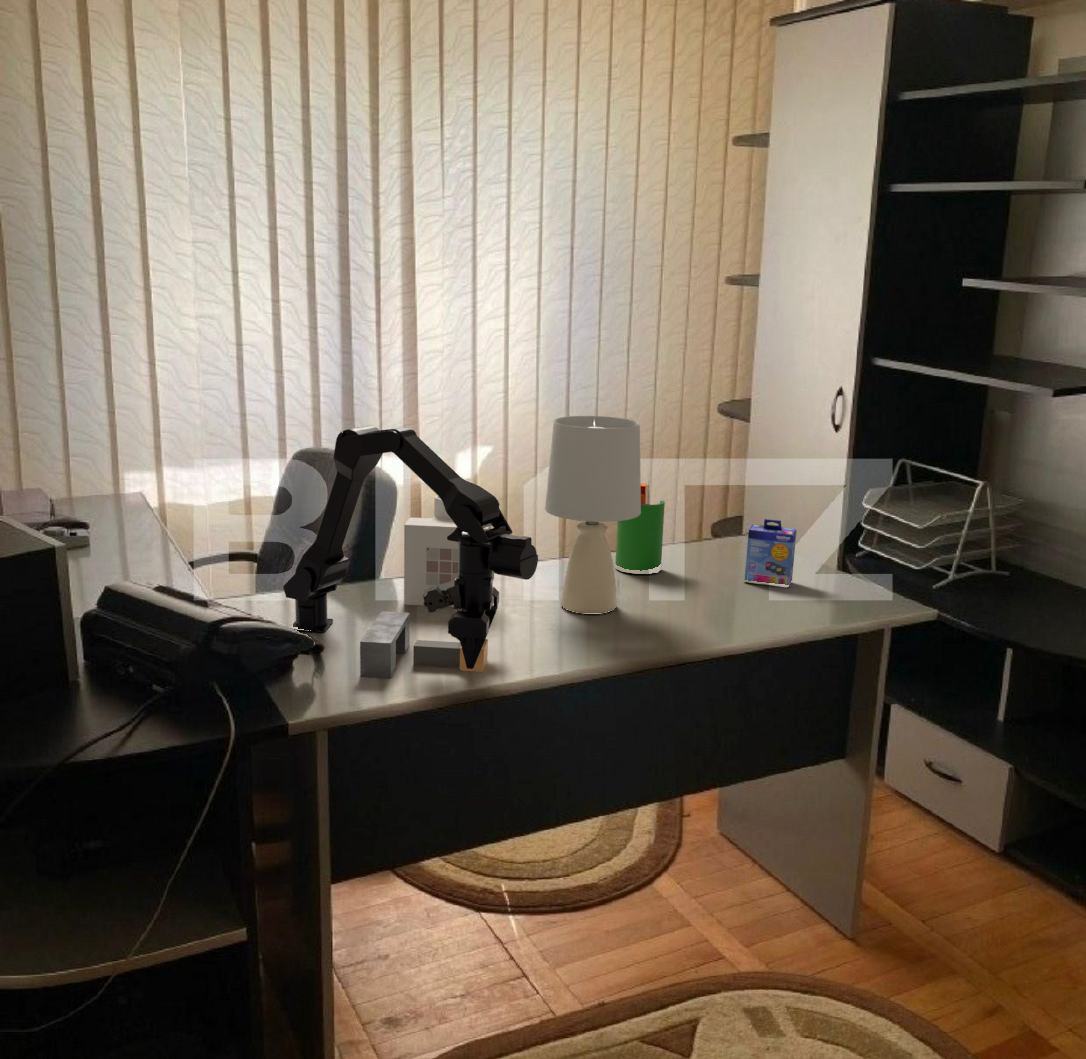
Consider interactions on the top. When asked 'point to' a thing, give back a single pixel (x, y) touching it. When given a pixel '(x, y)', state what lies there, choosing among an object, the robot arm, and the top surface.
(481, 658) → the plug
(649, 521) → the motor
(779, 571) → the ink cartridge box
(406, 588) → the white square bottle
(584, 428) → the lamp
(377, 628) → the housing
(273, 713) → the top surface
